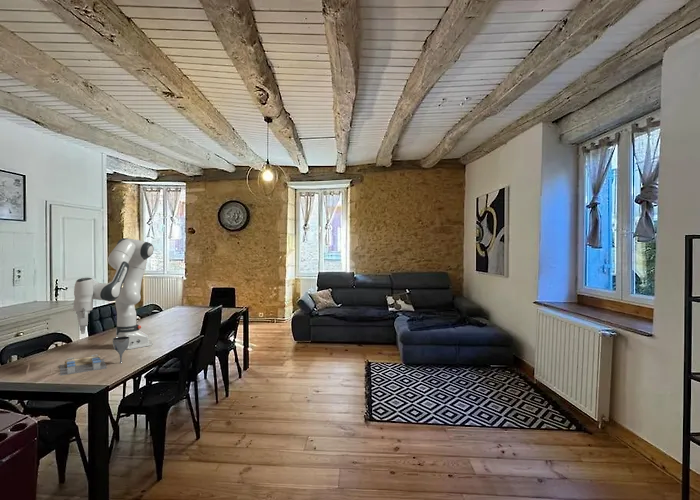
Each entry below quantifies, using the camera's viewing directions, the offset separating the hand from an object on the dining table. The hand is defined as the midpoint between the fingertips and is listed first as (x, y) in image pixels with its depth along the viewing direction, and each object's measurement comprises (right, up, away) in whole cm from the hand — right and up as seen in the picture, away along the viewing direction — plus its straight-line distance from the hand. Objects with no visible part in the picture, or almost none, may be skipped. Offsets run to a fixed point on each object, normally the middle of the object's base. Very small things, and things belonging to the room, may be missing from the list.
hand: (82, 332), depth 207 cm
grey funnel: (+20, -19, +3) cm, 28 cm away
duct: (+4, -19, -5) cm, 20 cm away
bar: (+1, -18, 0) cm, 18 cm away
